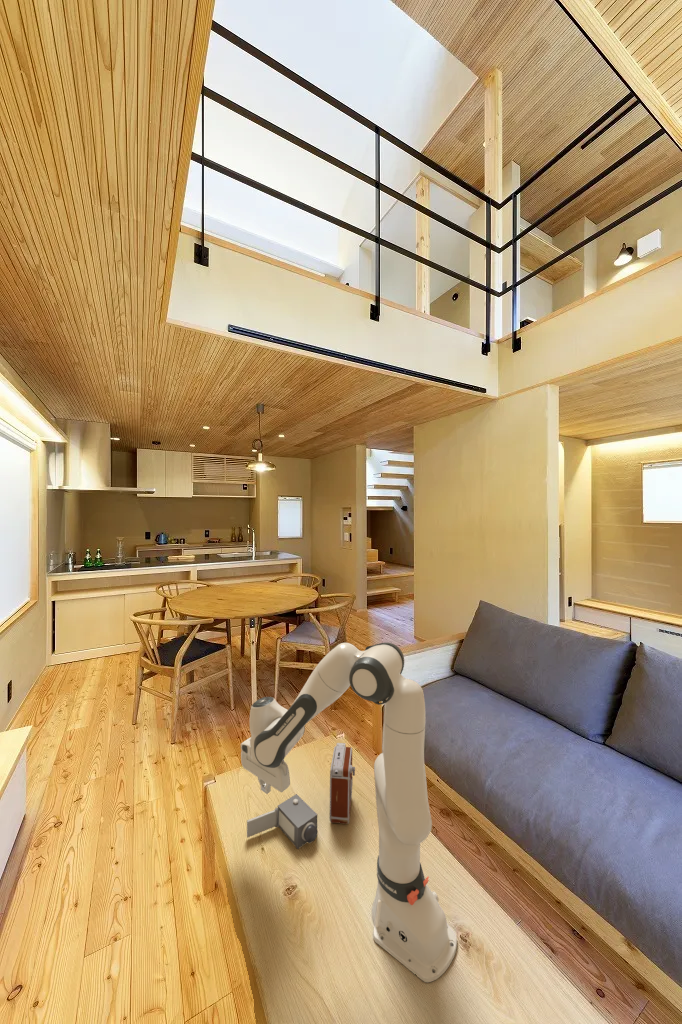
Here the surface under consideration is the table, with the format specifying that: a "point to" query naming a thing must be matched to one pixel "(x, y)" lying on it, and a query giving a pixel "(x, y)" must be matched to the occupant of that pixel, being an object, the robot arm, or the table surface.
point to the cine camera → (341, 784)
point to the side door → (262, 822)
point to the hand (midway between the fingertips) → (265, 791)
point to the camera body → (297, 821)
